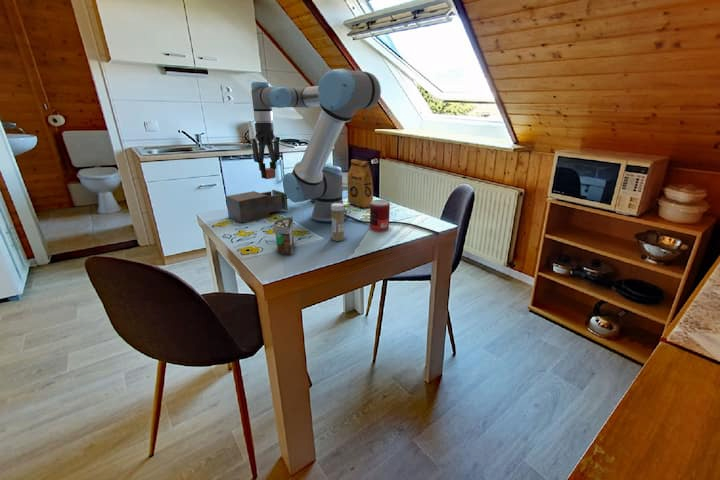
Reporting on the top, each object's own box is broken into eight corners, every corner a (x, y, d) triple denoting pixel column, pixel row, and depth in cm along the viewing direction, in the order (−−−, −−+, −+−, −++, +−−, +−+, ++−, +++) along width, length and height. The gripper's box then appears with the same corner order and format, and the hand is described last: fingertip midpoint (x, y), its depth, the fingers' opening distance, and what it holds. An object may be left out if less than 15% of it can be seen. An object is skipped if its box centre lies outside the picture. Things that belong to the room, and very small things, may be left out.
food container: (277, 243, 125) (274, 216, 121) (294, 242, 125) (292, 216, 122) (271, 257, 113) (269, 228, 110) (290, 256, 114) (288, 227, 110)
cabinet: (256, 211, 162) (254, 191, 158) (269, 216, 154) (267, 195, 151) (228, 217, 153) (225, 196, 149) (241, 223, 145) (238, 201, 142)
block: (274, 178, 154) (274, 169, 153) (266, 179, 151) (266, 170, 150) (269, 176, 157) (269, 167, 155) (262, 177, 154) (261, 168, 152)
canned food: (390, 226, 143) (392, 200, 139) (385, 232, 136) (386, 205, 132) (373, 224, 145) (373, 198, 141) (367, 230, 138) (367, 203, 134)
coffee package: (361, 209, 166) (361, 163, 158) (345, 203, 174) (344, 159, 166) (376, 205, 172) (377, 160, 164) (359, 200, 180) (360, 157, 172)
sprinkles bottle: (344, 241, 127) (344, 205, 122) (332, 241, 126) (331, 206, 122) (343, 236, 131) (343, 202, 126) (331, 237, 131) (330, 202, 126)
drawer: (285, 203, 172) (284, 187, 169) (298, 207, 165) (297, 191, 162) (252, 210, 160) (250, 194, 157) (264, 215, 153) (262, 198, 150)
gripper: (276, 121, 153) (280, 173, 162) (240, 122, 142) (246, 178, 150) (285, 121, 148) (289, 176, 157) (250, 123, 137) (255, 181, 146)
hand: (268, 177), depth 154 cm, fingers closed on block, 4 cm apart
